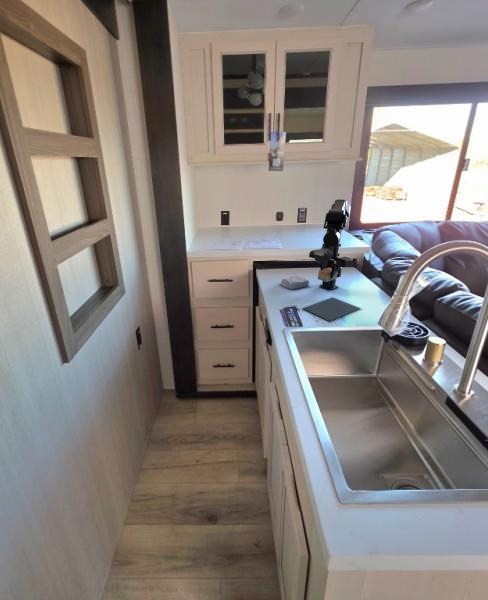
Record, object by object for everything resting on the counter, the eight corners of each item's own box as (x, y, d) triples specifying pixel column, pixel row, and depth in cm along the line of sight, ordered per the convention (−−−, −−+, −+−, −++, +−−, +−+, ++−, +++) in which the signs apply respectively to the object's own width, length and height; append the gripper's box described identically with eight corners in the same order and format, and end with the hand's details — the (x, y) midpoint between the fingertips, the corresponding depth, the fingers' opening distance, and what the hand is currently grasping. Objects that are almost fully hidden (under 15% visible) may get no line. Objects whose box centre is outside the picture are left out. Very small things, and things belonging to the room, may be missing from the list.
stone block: (278, 287, 161) (291, 290, 152) (278, 278, 160) (291, 280, 151) (297, 284, 166) (310, 286, 157) (297, 275, 165) (310, 277, 156)
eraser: (328, 276, 141) (329, 267, 140) (336, 278, 138) (337, 270, 136) (317, 279, 138) (318, 270, 136) (325, 282, 134) (327, 273, 133)
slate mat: (332, 298, 144) (332, 297, 143) (360, 308, 133) (360, 308, 133) (302, 309, 133) (302, 308, 133) (329, 321, 123) (330, 320, 122)
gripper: (302, 239, 134) (298, 274, 140) (338, 248, 120) (333, 286, 126) (319, 236, 140) (315, 270, 146) (356, 244, 126) (350, 281, 132)
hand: (327, 276), depth 137 cm, fingers closed on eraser, 4 cm apart
